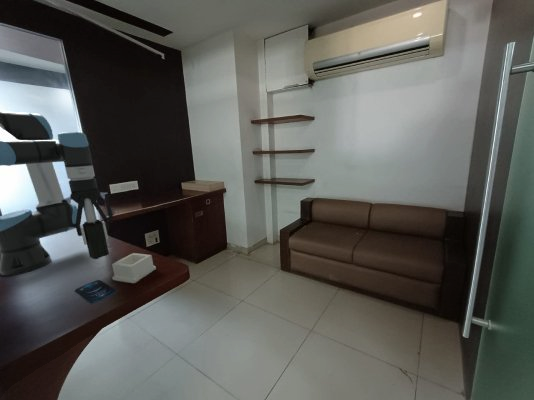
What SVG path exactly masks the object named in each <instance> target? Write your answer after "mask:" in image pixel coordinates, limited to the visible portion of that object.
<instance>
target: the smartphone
mask: <svg viewBox="0 0 534 400" xmlns="http://www.w3.org/2000/svg"><path fill="white" fill-rule="evenodd" d="M117 291H118V290H117V289H115V288H114V287H112V286H110V285H109V284H107V283H105V282H104V281H103V280H101V279H97V280H94V281H92V282H88V283H87V284H84V285H82V286H80V287H77V288H75V289H74V292H75V293H76V294H77V295H78V296H80V298H82V300H83V299H84V301H86V303H88V304H90V305H93V304H96V303H97V302H99V301H102V300H104V299H106V298H108V297H109V296H111V295H113V294H116V293H117Z"/></svg>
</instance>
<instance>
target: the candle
mask: <svg viewBox="0 0 534 400" xmlns="http://www.w3.org/2000/svg"><path fill="white" fill-rule="evenodd" d="M84 205H85V206H83V211H84V216H85V221H84V222H83V224H82V223H81V224H82V225H81V226H83V229H84V233H85V237H86V241H87V244H86V247H87V250H88V251H87V252H88V254H89V258H90V259H93V260H97V259H100V258H103V257H106V256H109V254H110V251H109V247H108V243H107V239H106V237H105V233H104V228H103V224H102V222H101V219H97V216H96V211H95V206H94V204H92V203H91V200H90V199H88V198H86V199H85V200H84Z"/></svg>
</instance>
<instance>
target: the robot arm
mask: <svg viewBox="0 0 534 400" xmlns="http://www.w3.org/2000/svg"><path fill="white" fill-rule="evenodd" d="M89 145H90V144H89V141H88V138H87V135H86V134H85V133H84V132H76V131H69V132H67V131H66V132H59V133H57V139H54V135H53V129H52V127H51V124H50V122H49V121H48V120H47V118H46V117H44V116H43V115H42V114H39V113H31V112H19V111H18V112H17V111H16V112H15V111H0V166H6V167H7V166H8V167H10V166H11V167H12V166H18V165H20V166H21V165H25V166H26V168H27V171H28V174H29V177H30V181H31V184H32V186H33V190H34V192H35V196H36V197H37V198H36V199H37V201H38V204H37V205H36V206H35V209H36V211H32V210H31V209H23V210H22V209H21V210H16V211H12V212H9V213H6V214H3V215H0V254H1V256H0V274H1V276H15V275H20V274H24V273H28V272H32V271H34V270H36V269H40V268H41V267H44V266H46V265H47V264H49V263H50V262H51V260H52V258H51V256H50V254H49V252H48V251H47V250H46V249H45V247H44V246H43V245H42V243H41V240H40V239H41V238H45V237H50V236H54V235H58V234H62V233H67V232H69V231H72V230H76V232H77V236H78V237H82V241H83V244H84V245H86V246H87V241H86V237H85V233H84V229H83V226H82V225H81V224H82V217H83V216H82V215H83V211H84V208H83V206H85V205H84V200H85V199H86V198H88V199H90V200H91V203H92V204H93V206H94V208H95V209H96V210H97V212H98V214H99V215H100V217H101V219H102V221H101V220H100V221H101V222H102V224H103V228H104V233H105V237H106V240H109V236H108V230H110V223H109V222H110V220H113V219H114V215H113V212H112V211H113V210H112V208H111V204H110V199H109V198H110V193H109V192H101V191H100V190H99V188H98V185H97V184H98V183H97V179H96V178H95V176H96V174H95V171H94V165H93V162H92V156H91V151H90V146H89ZM58 162H59V163H60V162H61V163H62V162H63V164H64V169H65V172H66V177H67V179H69V181H68V186H69V188H70V196H69V197H66V198H65V197H64V193H63V192H62V188H61V184H60V183H59V179H58V176H57V172H56V170H55V169H56V168H55V167H54V163H58ZM100 197H101V198H102V200H103V201H104V206H105V208H106V212H107V216H106V214H105V213H104V211H103V209H102V208H101V207H100V205H99V203H98V199H99V198H100ZM72 201H74V202H75V203H77V206H76V205H75V204H71V203H72Z"/></svg>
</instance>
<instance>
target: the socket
mask: <svg viewBox="0 0 534 400" xmlns="http://www.w3.org/2000/svg"><path fill="white" fill-rule="evenodd" d="M111 266H112V271H113V276H111V277H112V280H113V281H117V282H123V283H129V284H136V283H138V282H139V281H141V280H142V279H143V278H145V277H147V276H148V275H150V274H151V273H152V272H153V271H155V270H157V267H156V265H154V262H153V256H152V254H145V253H136V252H132V253H131V254H129V255H127V256H125V257H122V258H121V259H119V260H117V261H115V262H114V263H112V264H111Z"/></svg>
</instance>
